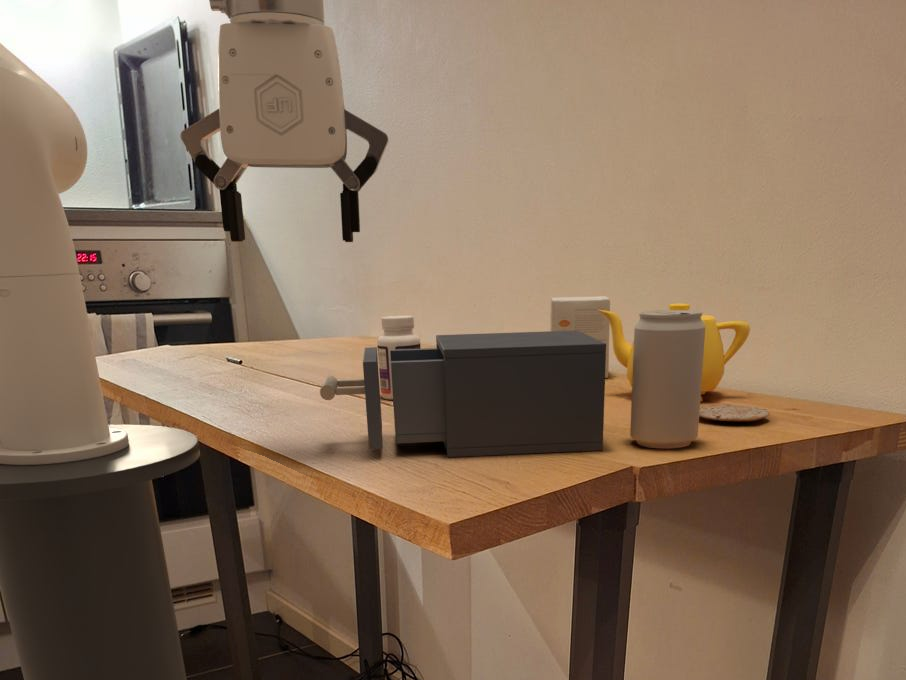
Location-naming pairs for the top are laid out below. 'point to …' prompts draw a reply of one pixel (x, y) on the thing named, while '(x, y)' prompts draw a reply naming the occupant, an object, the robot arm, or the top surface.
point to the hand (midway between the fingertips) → (293, 241)
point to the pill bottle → (394, 347)
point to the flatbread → (733, 412)
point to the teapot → (712, 346)
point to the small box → (582, 318)
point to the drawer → (401, 395)
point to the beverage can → (667, 378)
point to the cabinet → (523, 392)
